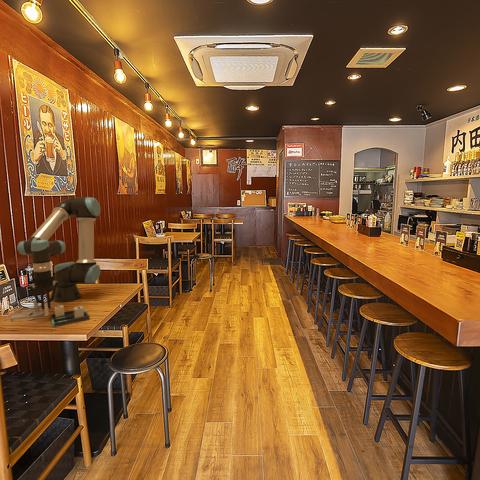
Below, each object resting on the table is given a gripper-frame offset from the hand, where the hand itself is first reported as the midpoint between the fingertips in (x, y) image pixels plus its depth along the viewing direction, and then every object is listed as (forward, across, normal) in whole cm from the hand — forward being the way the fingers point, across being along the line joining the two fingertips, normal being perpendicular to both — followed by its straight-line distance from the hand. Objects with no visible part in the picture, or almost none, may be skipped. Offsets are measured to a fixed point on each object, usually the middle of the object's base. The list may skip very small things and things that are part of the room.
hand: (46, 314), depth 158 cm
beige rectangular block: (+3, +6, 0) cm, 6 cm away
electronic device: (+5, -8, +12) cm, 16 cm away
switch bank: (+4, +10, -4) cm, 11 cm away
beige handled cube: (+3, +14, -8) cm, 16 cm away
